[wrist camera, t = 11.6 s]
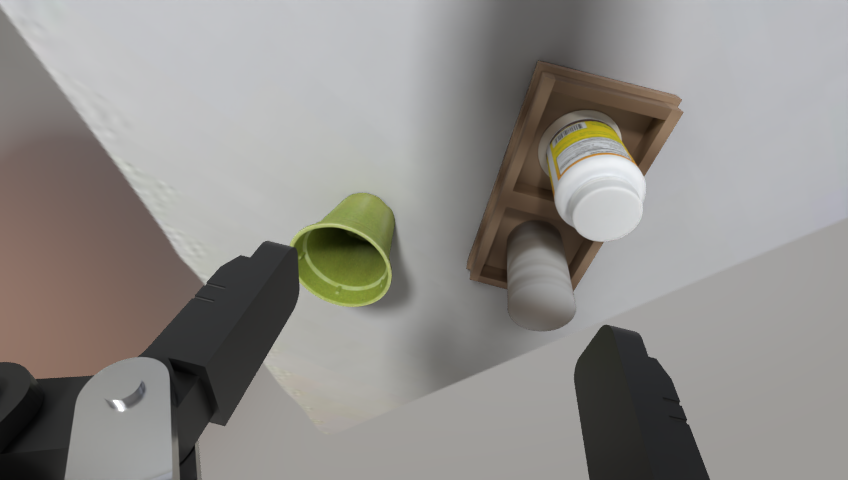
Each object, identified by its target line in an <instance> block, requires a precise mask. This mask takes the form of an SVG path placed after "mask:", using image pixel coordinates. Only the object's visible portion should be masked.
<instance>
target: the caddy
mask: <svg viewBox="0 0 848 480" xmlns="http://www.w3.org/2000/svg"><path fill="white" fill-rule="evenodd" d="M681 101H682V99H680V98H679V97H678V96H676V95H673V94H669V93H665V92H661V91H657V90H653V89H649V88H645V87H641V86H638V85H634V84H630V83H626V82H622V81H618V80H614V79H610V78H606V77H602V76H598V75H594V74H590V73H586V72H582V71H578V70H574V69H570V68H566V67H562V66H558V65H554V64H550V63H547V62H543V61H539V60H538V62H537V65H536V68H535V70H534V73H533V76H532V79H531V82H530V85H529V88H528V90H527V93H526V96H525V99H524V102H523V105H522V107H521V110H520V113H519V116H518V119H517V122H516V125H515V127H514V130H513V133H512V136H511V139H510V142H509V144H508V147H507V150H506V153H505V156H504V159H503V161H502V164H501V167H500V170H499V173H498V176H497V179H496V181H495V184H494V187H493V190H492V193H491V196H490V198H489V201H488V204H487V207H486V210H485V213H484V216H483V218H482V221H481V224H480V227H479V230H478V233H477V235H476V238H475V241H474V244H473V247H472V250H471V252H470V255H469V258H468V261H467V268H466V269H470V270H471V272H470V280H474V281H478V282H482V283H485V284H489V285H493V286H497V287H501V288H504V289H507V290H508V313H509V315H510V317H511V319H512V320H513V321H514V322H515V323H516V324H518V325H519V326H521V327H523V328H526V329H529V330H533V331H551V330H555V329H558V328H560V327H563V326H564V325H566V324H567V323H569V322H570V321H571V320H572V318H573V317H574V315H575V312H576V303H575V298H574V293H573V291H574V290H575V288H576V286H577V285H578V283H579V281H580V280H581V278H582V277H583V275H584V273H585V272H586V270H587V268H588V267H589V265H590V264H591V262H592V260H593V259H594V257H595V255H596V254H597V252H598V251H599V249H600V247H601V246H602V244H603V242H598V241H592V240H589V239H587V238H585V237H583V236H582V235H580V234H579V233H578V232H577V230H576V229H575V228H574V227H572V226H570V225H569V224H567V223H566V222H565V221H564V220H563V219H562V218H561V216H560V215H559V213H558V211H557V208H556V205H555V201H554V196H553V191H552V186H551V181H550V176H549V171H548V166H547V160H546V151H547V147H548V144H549V142H550V140H551V138H552V137H553V135H554V134H555V133H556V132H557V131H558V130H559V129H560V128H561V127H563V126H564V125H566V124H567V123H570V122H572V121H575V120H578V119H584V118H592V119H598V120H601V121H603V122H605V123H607V124H608V125H610V126H611V127H612V128H613V129H614V130H615V132H616V133H617V135H618V136H619V138H620V139H621V141H622V143H623V144H624V146H625V147H626V149H627V150H628V152H629V154H630V155H631V157H632V158H633V160H634V161H635V163H636V165H637V166H638V168H639V169H640V171H641V172H642V174H643V176H645V174H646V173H647V171H648V169H649V168H650V166H651V164H652V163H653V161H654V160H655V158H656V156H657V155H658V153H659V151H660V150H661V148H662V147H663V145H664V143H665V142H666V140H667V138H668V137H669V135H670V134H671V132H672V130H673V129H674V127H675V125H676V124H677V122H678V121H679V119H680V117H681V116H682V114H683V111H681V110H680V109H679V108H678V106H679V104H680V102H681Z"/></svg>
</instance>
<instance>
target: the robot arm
mask: <svg viewBox="0 0 848 480" xmlns="http://www.w3.org/2000/svg"><path fill="white" fill-rule="evenodd" d="M298 296H299V269H298V252H297V249H296V248H295V247H291V246H287V245H283V244H278V243H274V242H270V241H265V242H263V243H262V244H261V245H260V247H259V248H258V249H257V250H256V251H255V253H254V254H253V255H252V256H251V257H250V258H249V257H245V256H241V255H240V256H238V257H237V258H235V259H233V260H231V261H230V262H228V263H226V264H225V265H223V266H221V267H220V268H219V269H218V270H217V271H216V272H215V274H214V275H213V276H212V277H211V278H210V279H209V280H208V281H207V284H206V286H203V287H202V288H201V289H200V290H199V291H198V293H197V294H196V295H195V298H194V299H191V300H190V301H189V303H188V304H187V305H186V306H185V307H184V308H183V309H182V310H181V311H180V313H179V314H178V315H177V316H176V317H175V318H174V319H173V320H172V322H171V323H170V324H169V325H168V326H167V327H166V328H165V329H164V330H163V332H162V333H161V334H160V335H159V336H158V337H157V338H156V339H155V340H154V341H153V343H152V344H151V345H150V346H149V347H148V348H147V349H146V350H145V351H144V352H143V353H142V354H141V355H139V356H138V357H136V358H130V359H125V360H122V361H119V362H117V363H114V364H112V365H110V366H108V367H106V368H105V369H103V370H102V371H100V372H99V373H97V374H96V375H93V376H83V377H65V378H48V379H35V378H34V377H33V376H32V375H31V374H30V372H29V371H28V370H27V369H26V368H25V367H23V366H21V365H19V364H16V363H9V362H0V480H202V478H201V465H200V453H199V441H198V438H199V437H200V435H201V434H202V432H203V430H204V429H205V427H206V426H207V424H208V423H209V422H211V423H215V424H219V425H222V426H225V425H226V423H227V422H228V420H229V418H230V417H231V415H232V414H233V412H234V410H235V408H236V407H237V405H238V403H239V402H240V400H241V398H242V397H243V395H244V393H245V391H246V390H247V388H248V386H249V385H250V383H251V381H252V380H253V378H254V376H255V375H256V372H257V371H258V369H259V368H260V366H261V364H262V363H263V361H264V359H265V358H266V356H267V354H268V352H269V351H270V349H271V347H272V346H273V344H274V342H275V341H276V339H277V337H278V335H279V334H280V332H281V330H282V329H283V327H284V325H285V324H286V322H287V320H288V319H289V317H290V315H291V313H292V312H293V310H294V308H295V305H296V303H297V300H298ZM574 383H575V389H576V396H577V402H578V409H579V415H580V422H581V428H582V434H583V440H584V447H585V453H586V459H587V466H588V473H589V479H590V480H710V479H709V476H708V473H707V471H706V468H705V465H704V463H703V460H702V458H701V455H700V452H699V450H698V447H697V445H696V442H695V439H694V437H693V434H692V432H691V429H690V426H689V425H688V424H687V423H686V421H687V419H686V416H685V413H684V411H683V408H682V406H680V405H679V402H680V400H679V398H678V395H677V393H676V390H675V387H674V384H673V382H672V380H671V378H670V377H669V375H668V374H667V373H666V372H665V370H664V369H663V368H662V366H661V365H660V364H659V362H658V361H657V359H655V358H651V357H648V354H647V351H646V348H645V346H644V343H643V340H642V337H641V336H640V335H639V333H637V332H634V331H630V330H626V329H622V328H618V327H614V326H610V325H604V326H602V327H601V328H600V329H599V331H598V332H597V334H596V335H595V336H594V338H593V339H592V341H591V342H590V343H589V345H588V346H587V348H586V349H585V350H584V352H583V353H582V354H581V356H580V357H579V359H578V361H577V364H576V367H575V373H574Z"/></svg>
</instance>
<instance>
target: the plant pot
mask: <svg viewBox="0 0 848 480" xmlns="http://www.w3.org/2000/svg"><path fill="white" fill-rule="evenodd" d="M394 226H395V219H394V215H393V212H392V210H391V209H390V208H389V207H388V206H387V205H386V204H385V203H384V202H383V201H382V200H381V199H380V198H378V197H376V196H374V195H371V194H367V193H357V194H352V195H350V196H349V197H347V198H345V199H344V200H343V201H342V202H341V203H340V204H339V205H338V206H337V207H336V208H335V209H333V210H332V211H331V212H330V213H329V214H328V215H327V216H326V217H325V218H324V219H323V220H321V221H320V222H318V223H316V224H313V225H310V226H307V227H305V228H303V229H302V230H300V231H299V232H298V233H297V234H296V235H295V236H294V238H293V239H292V241H291V243H290V245H289V246H291V247H295V248H296V249H297V252H298V269H299V282H300V283H301V284H302V285H303V286H304V287H305V288H306V289H307V290H308V291H309V292H311V293H312V294H314V295H315V296H317V297H319V298H320V299H322V300H325V301H327V302H329V303H332V304H336V305H339V306H346V307H360V306H365V305H369V304H372V303H374V302H376V301H378V300H379V299H381V298H382V297H383V296H384V295H385V294H386V292H387V291H388V289H389V287H390V284H391V280H392V268H391V264H390V259H389V255H390V248H391V242H392V236H393V231H394Z"/></svg>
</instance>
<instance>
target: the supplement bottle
mask: <svg viewBox="0 0 848 480" xmlns="http://www.w3.org/2000/svg"><path fill="white" fill-rule="evenodd" d="M546 160H547V166H548V171H549V176H550V181H551V186H552V191H553V196H554V201H555V205H556V208H557V211H558V213H559V215H560V216H561V218H562V219H563V220H564V221H565V222H566V223H567V224H569V225H570V226H572V227H574V228H575V229H576V230H577V232H578V233H579V234H580V235H582V236H583V237H585V238H587V239H589V240H592V241H598V242H607V241H613V240H617V239H619V238H622V237H624V236H626V235H627V234H629V233H630V232H631V231H633V230H634V229H635V228H636V226H637V225H638V224H639V222H640V220H641V217H642V213H643V207H642V204H643V201H644V199H645V195H646V183H645V179H644V176H643V174H642V172H641V171H640V169H639V168H638V166H637V165H636V163H635V161H634V160H633V158H632V157H631V155H630V154H629V152H628V150H627V149H626V147H625V146H624V144H623V143H622V141H621V139H620V138H619V136H618V135H617V133H616V132H615V130H614V129H613V128H612V127H611V126H610V125H608V124H607V123H605V122H603V121H601V120H598V119H592V118H584V119H578V120H575V121H572V122H570V123H567V124H566V125H564V126H563V127H561V128H560V129H559V130H558V131H557V132H556V133H555V134H554V135H553V137H552V138H551V140H550V142H549V144H548V147H547V151H546Z"/></svg>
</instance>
